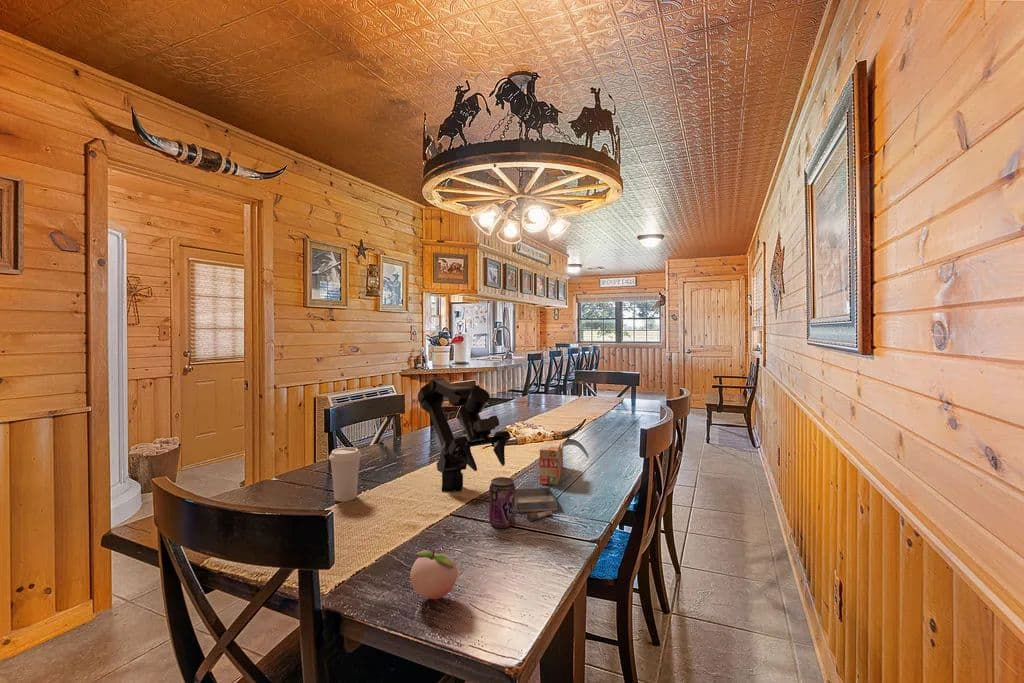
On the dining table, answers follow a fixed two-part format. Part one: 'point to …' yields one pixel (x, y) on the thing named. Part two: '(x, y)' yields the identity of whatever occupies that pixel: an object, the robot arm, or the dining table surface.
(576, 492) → the dining table surface
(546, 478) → the stack of blocks
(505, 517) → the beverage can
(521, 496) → the tray
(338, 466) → the coffee cup
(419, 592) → the decorative fruit
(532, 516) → the pin gauge
